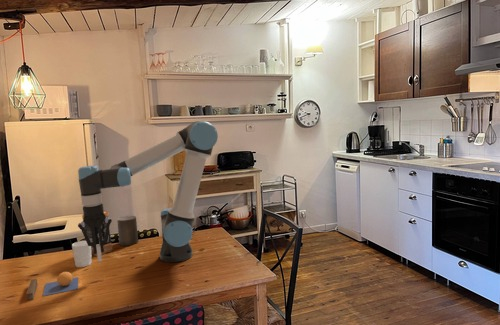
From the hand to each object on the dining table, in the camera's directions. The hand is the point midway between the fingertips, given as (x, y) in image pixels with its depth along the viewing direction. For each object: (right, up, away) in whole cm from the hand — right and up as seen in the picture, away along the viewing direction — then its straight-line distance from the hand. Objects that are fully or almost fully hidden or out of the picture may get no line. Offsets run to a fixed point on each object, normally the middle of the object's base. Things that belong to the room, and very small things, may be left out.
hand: (100, 260), depth 150 cm
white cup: (-15, -7, +17) cm, 24 cm away
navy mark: (-13, -9, -5) cm, 17 cm away
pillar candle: (-3, -3, +45) cm, 45 cm away
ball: (-12, -6, -5) cm, 14 cm away
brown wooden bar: (-22, -10, -9) cm, 26 cm away
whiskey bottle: (-14, -5, +33) cm, 36 cm away
